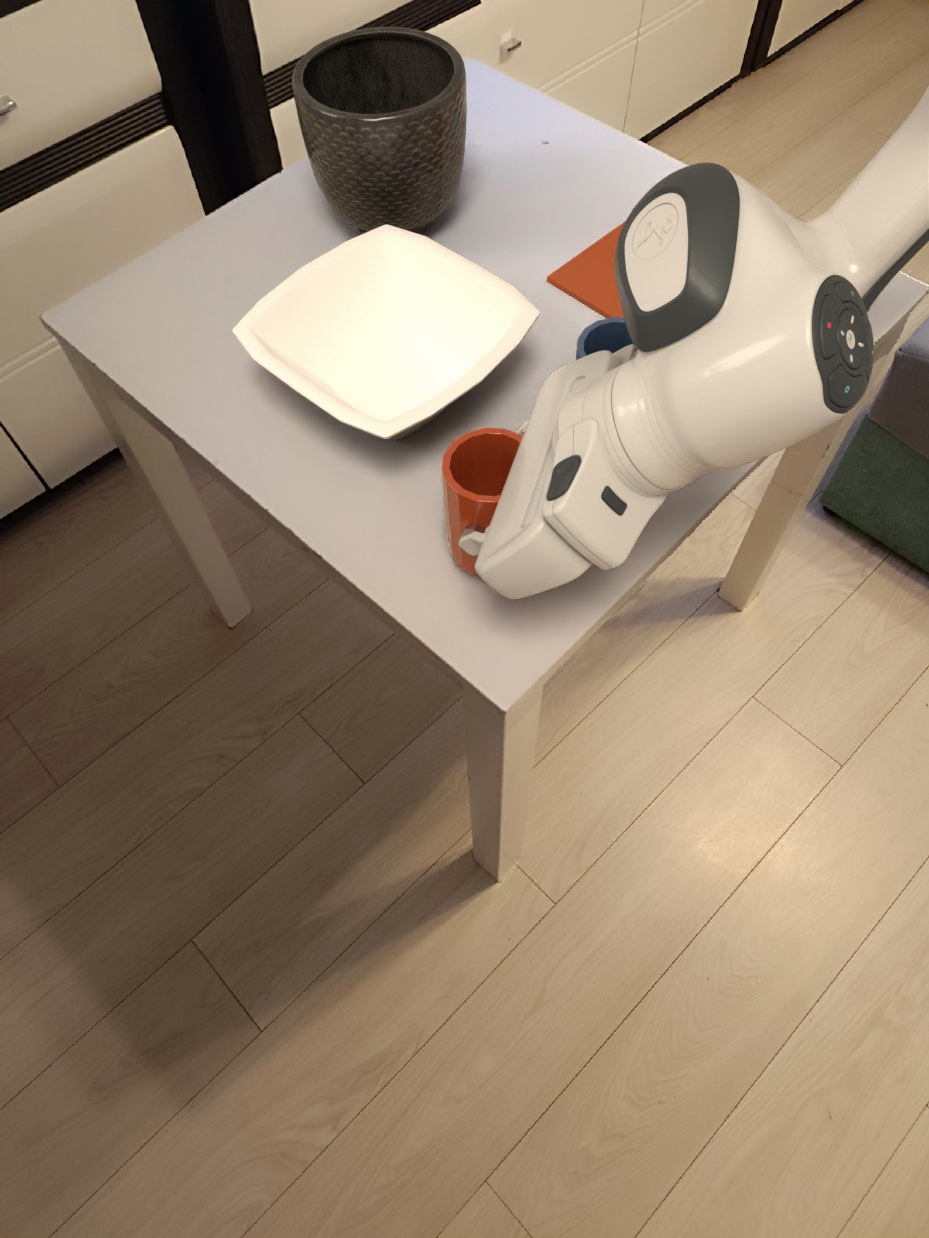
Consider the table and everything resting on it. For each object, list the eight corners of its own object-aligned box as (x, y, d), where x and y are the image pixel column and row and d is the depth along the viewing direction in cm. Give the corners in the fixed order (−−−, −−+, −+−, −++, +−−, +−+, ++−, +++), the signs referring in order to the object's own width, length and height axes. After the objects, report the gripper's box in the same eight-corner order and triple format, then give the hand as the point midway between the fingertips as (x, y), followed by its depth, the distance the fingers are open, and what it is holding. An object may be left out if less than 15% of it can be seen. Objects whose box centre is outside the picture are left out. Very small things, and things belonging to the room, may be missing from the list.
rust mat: (814, 275, 91) (816, 270, 90) (696, 374, 84) (698, 369, 83) (665, 196, 98) (666, 191, 98) (546, 281, 92) (546, 276, 91)
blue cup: (646, 403, 82) (663, 319, 74) (645, 461, 79) (663, 379, 70) (570, 399, 83) (579, 315, 74) (566, 456, 79) (575, 374, 71)
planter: (397, 155, 104) (382, 8, 90) (501, 214, 98) (502, 65, 84) (288, 222, 98) (254, 75, 84) (391, 289, 92) (373, 142, 78)
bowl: (399, 518, 76) (388, 455, 69) (234, 396, 84) (209, 327, 77) (557, 382, 84) (562, 312, 77) (392, 282, 92) (383, 210, 85)
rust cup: (537, 511, 74) (542, 430, 65) (531, 581, 70) (535, 505, 62) (454, 506, 75) (448, 424, 66) (444, 574, 71) (436, 498, 62)
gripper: (624, 306, 61) (493, 383, 71) (551, 529, 51) (412, 580, 61) (675, 366, 64) (543, 431, 74) (616, 587, 54) (473, 627, 64)
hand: (483, 500), depth 68 cm, fingers closed on rust cup, 7 cm apart
